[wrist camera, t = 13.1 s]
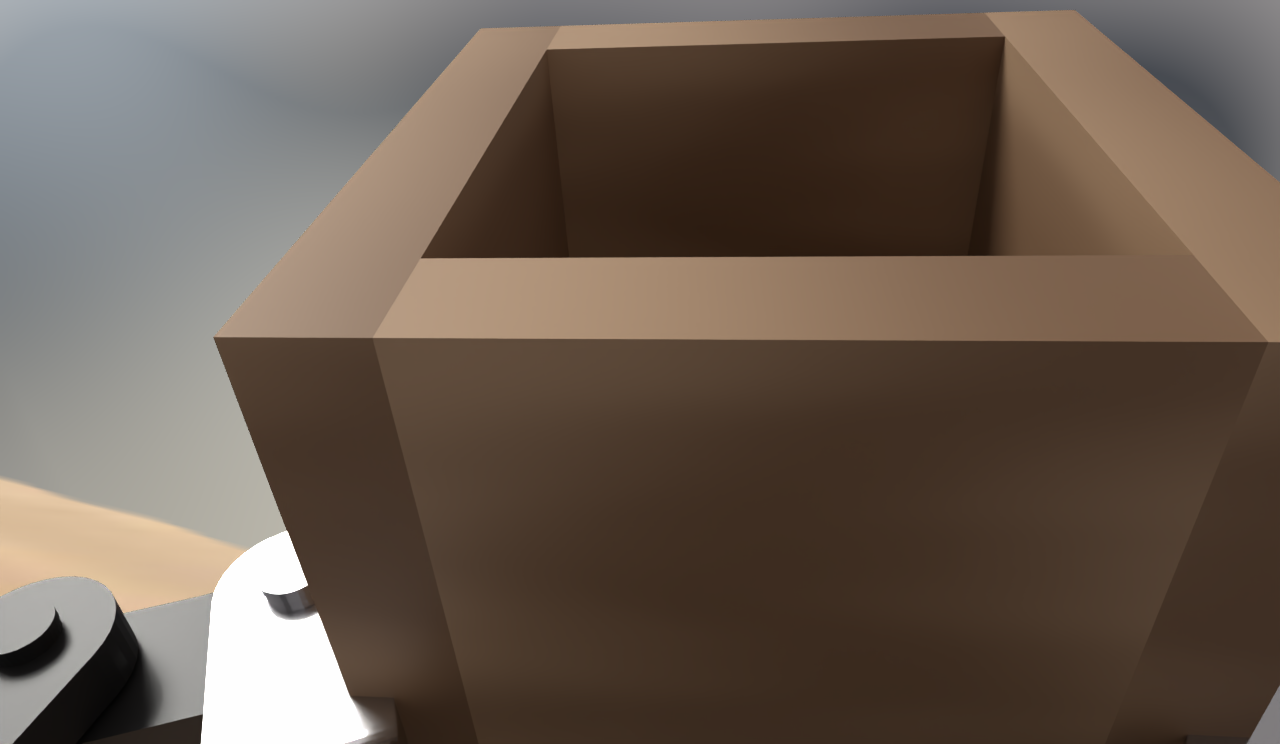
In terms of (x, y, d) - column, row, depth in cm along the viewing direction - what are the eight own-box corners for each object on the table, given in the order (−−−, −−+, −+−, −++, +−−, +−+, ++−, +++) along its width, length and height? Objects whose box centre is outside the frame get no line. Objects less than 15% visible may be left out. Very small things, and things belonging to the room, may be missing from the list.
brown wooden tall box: (501, 1095, 10) (213, 336, 4) (574, 670, 15) (480, 28, 9) (1023, 1142, 10) (1472, 343, 4) (932, 686, 14) (1074, 8, 8)
